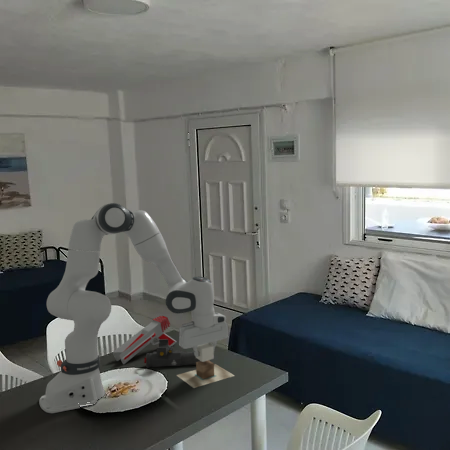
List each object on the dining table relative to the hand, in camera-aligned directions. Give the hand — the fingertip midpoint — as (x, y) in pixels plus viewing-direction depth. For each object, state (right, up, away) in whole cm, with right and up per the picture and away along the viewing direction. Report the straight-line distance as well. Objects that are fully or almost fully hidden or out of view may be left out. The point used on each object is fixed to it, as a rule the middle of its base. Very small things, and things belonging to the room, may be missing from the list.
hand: (204, 354), depth 198 cm
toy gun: (-26, -7, +28) cm, 39 cm away
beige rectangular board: (0, -9, +1) cm, 9 cm away
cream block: (0, -2, 0) cm, 2 cm away
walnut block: (0, -8, +1) cm, 8 cm away
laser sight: (-14, -9, +13) cm, 21 cm away
